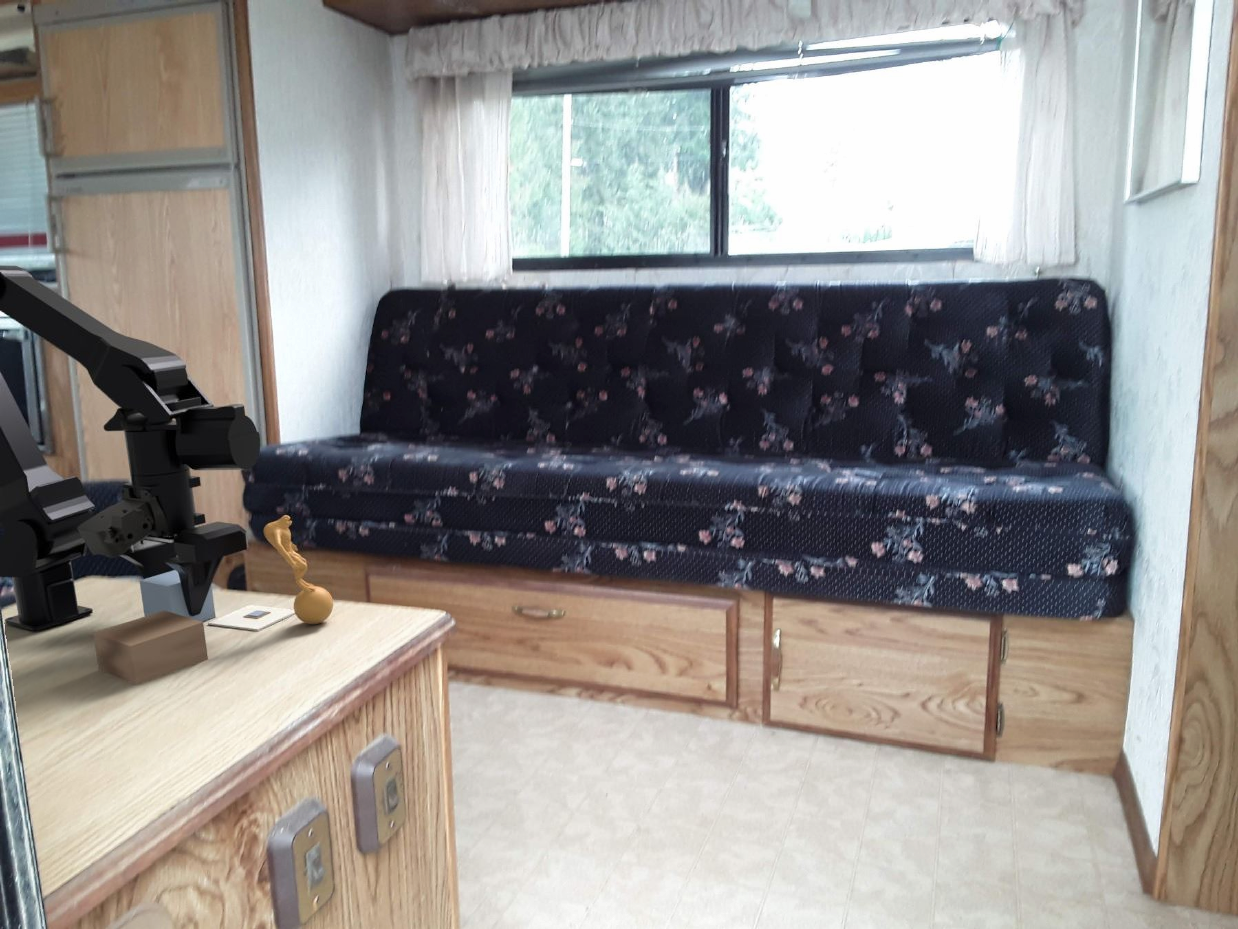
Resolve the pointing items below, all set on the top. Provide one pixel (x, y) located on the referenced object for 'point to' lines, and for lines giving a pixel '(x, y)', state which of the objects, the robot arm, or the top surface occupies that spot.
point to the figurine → (299, 575)
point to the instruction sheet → (253, 617)
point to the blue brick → (171, 597)
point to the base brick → (150, 646)
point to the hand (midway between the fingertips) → (179, 611)
